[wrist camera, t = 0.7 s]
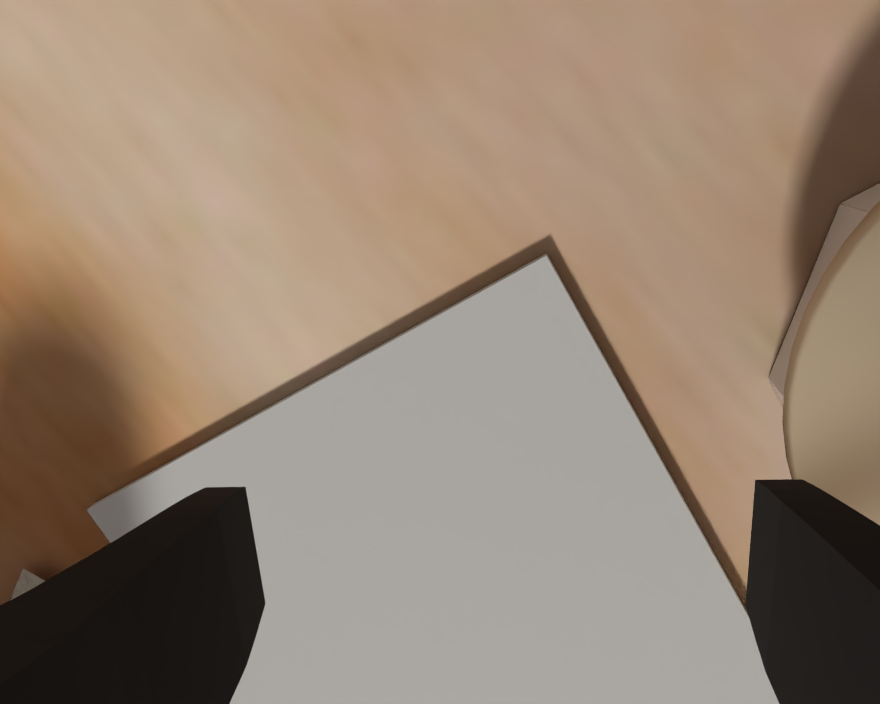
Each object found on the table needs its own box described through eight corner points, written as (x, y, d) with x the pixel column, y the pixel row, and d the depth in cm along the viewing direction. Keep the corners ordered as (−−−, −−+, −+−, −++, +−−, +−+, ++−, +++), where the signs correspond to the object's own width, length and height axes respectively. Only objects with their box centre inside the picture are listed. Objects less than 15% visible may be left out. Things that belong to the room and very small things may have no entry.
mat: (837, 774, 23) (842, 784, 23) (391, 915, 27) (389, 926, 27) (546, 253, 20) (546, 255, 20) (93, 503, 24) (86, 509, 24)
